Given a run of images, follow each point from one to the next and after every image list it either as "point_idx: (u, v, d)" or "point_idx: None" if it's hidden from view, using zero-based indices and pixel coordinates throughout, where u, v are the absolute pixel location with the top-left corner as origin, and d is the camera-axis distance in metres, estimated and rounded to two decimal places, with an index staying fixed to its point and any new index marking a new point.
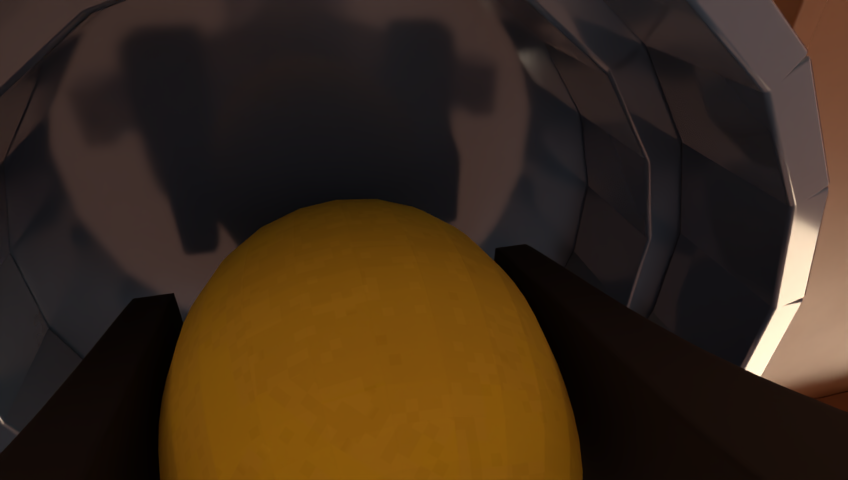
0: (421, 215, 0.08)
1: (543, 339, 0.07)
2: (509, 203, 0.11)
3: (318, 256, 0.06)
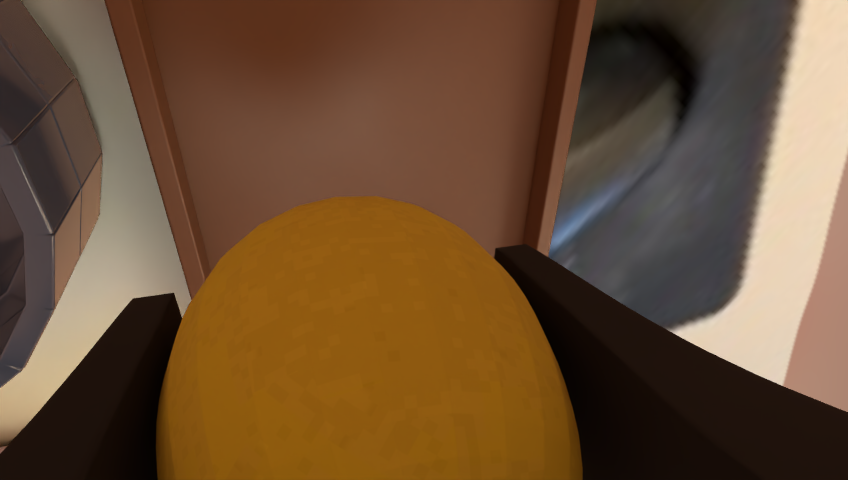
0: (420, 212, 0.08)
1: (543, 336, 0.07)
2: None
3: (316, 251, 0.06)
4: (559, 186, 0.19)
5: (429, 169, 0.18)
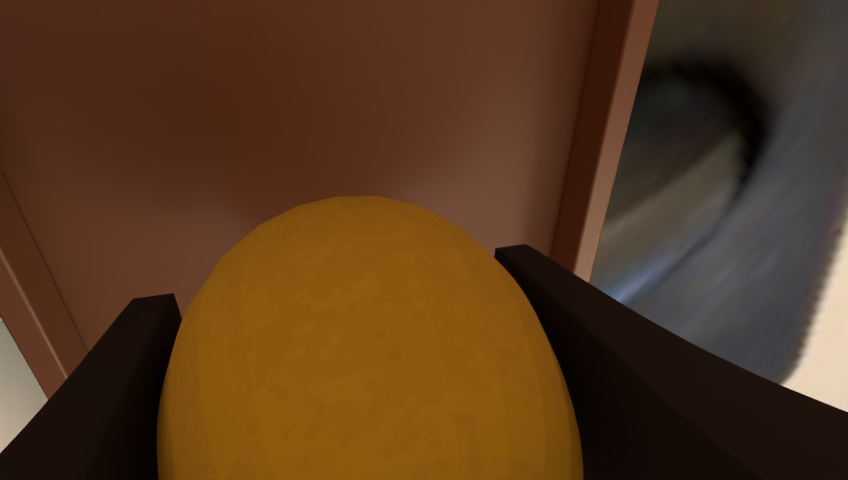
0: (421, 212, 0.08)
1: (543, 336, 0.07)
2: None
3: (317, 251, 0.06)
4: (586, 281, 0.14)
5: None
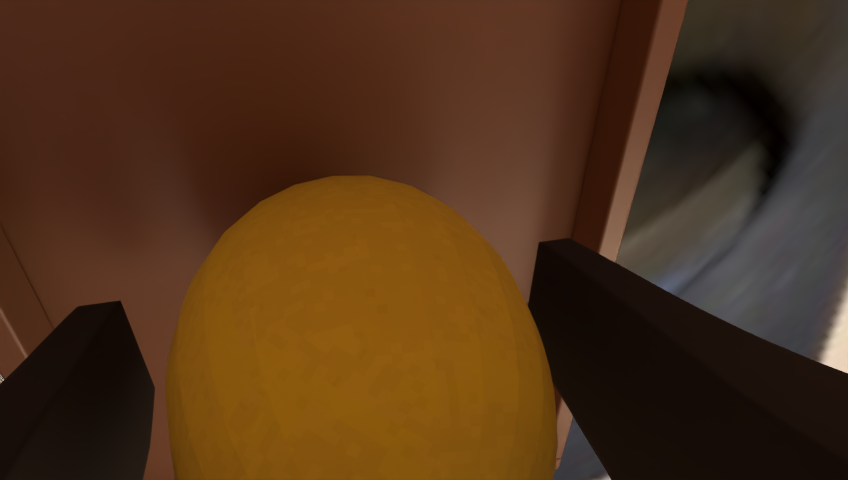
0: (410, 189, 0.08)
1: (522, 301, 0.07)
2: None
3: (313, 221, 0.07)
4: None
5: None
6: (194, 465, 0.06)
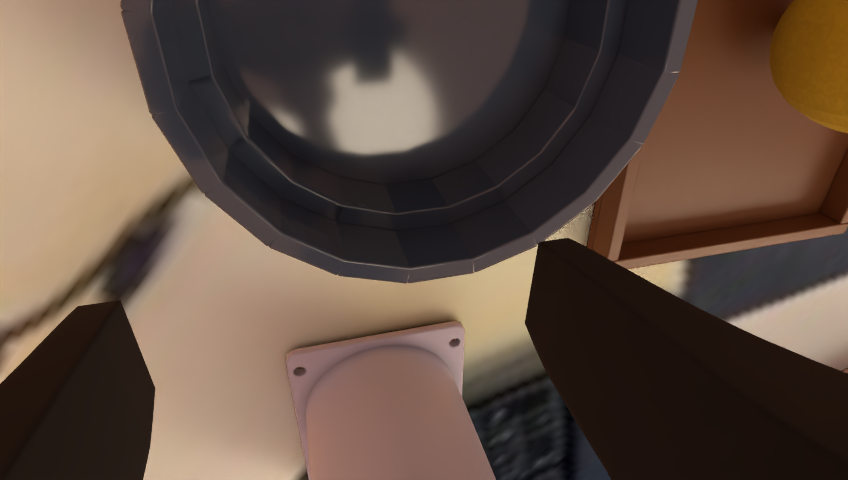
0: None
1: None
2: None
3: None
4: None
5: None
6: None
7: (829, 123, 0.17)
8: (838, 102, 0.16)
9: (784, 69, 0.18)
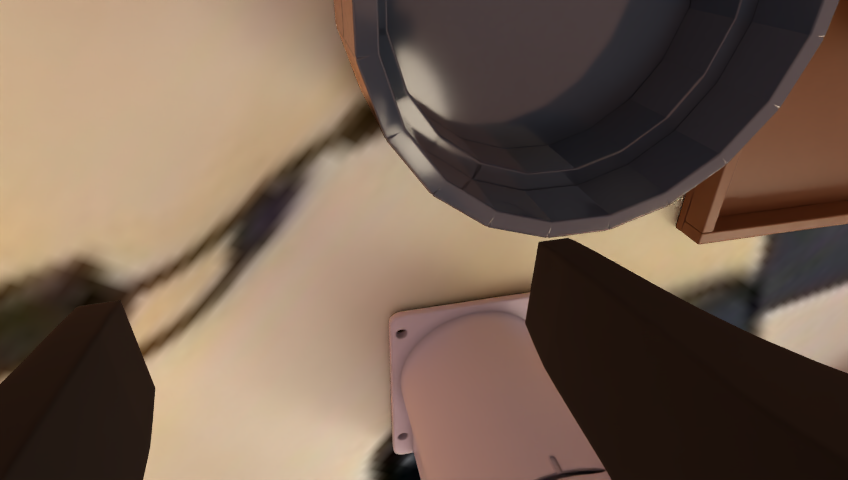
0: None
1: None
2: None
3: None
4: None
5: None
6: None
7: None
8: None
9: None
